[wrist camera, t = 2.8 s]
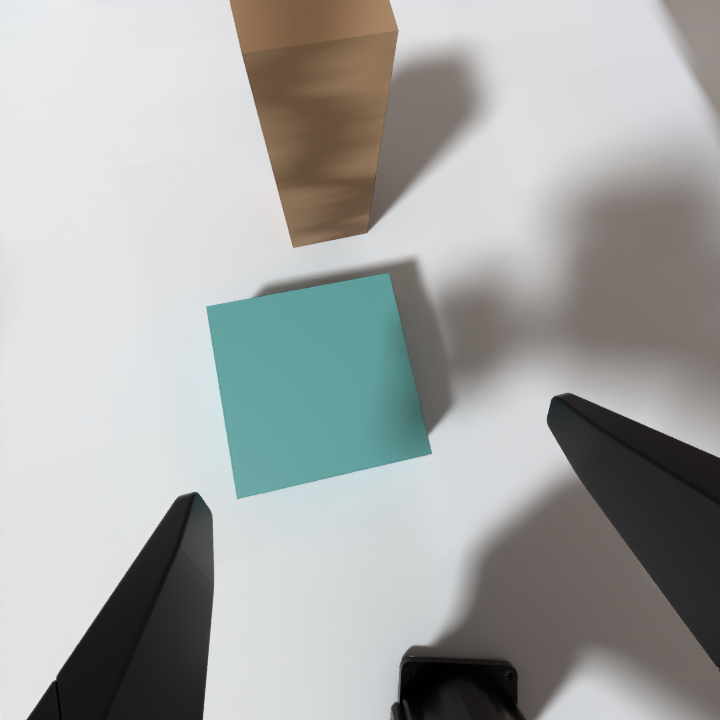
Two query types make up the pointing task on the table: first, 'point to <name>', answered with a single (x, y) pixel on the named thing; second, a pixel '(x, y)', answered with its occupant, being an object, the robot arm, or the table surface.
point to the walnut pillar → (320, 104)
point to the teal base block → (315, 384)
